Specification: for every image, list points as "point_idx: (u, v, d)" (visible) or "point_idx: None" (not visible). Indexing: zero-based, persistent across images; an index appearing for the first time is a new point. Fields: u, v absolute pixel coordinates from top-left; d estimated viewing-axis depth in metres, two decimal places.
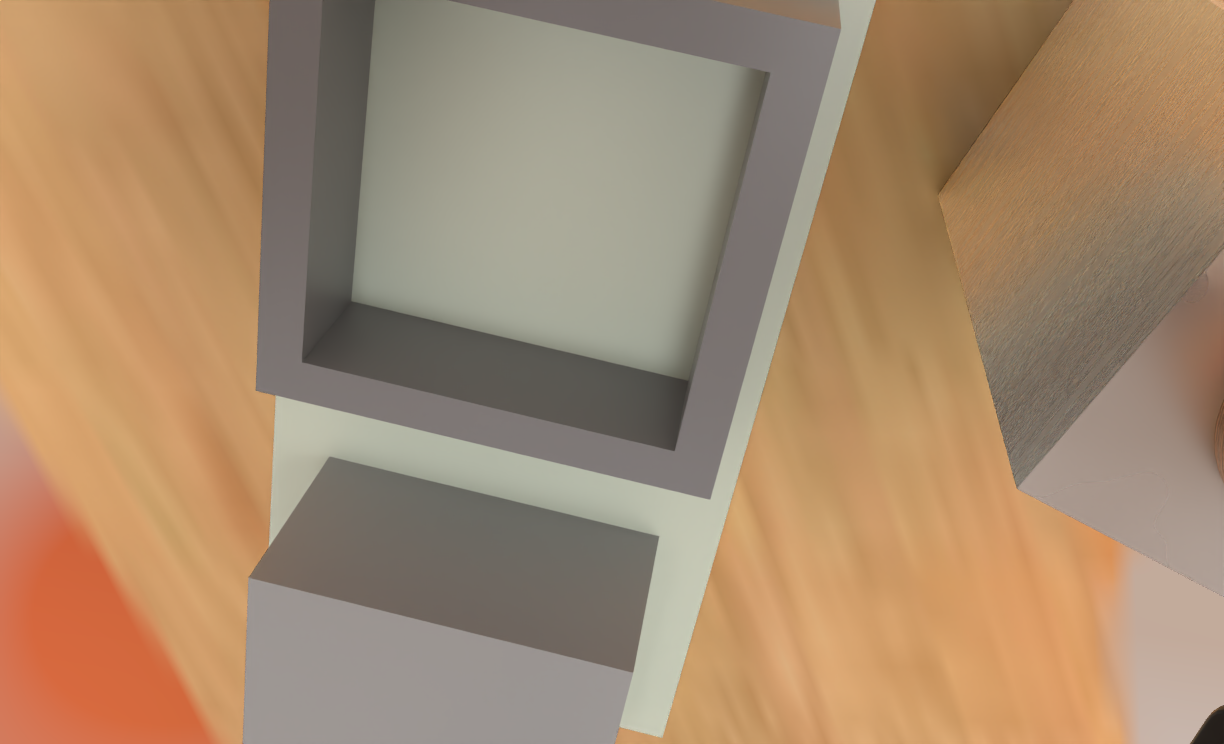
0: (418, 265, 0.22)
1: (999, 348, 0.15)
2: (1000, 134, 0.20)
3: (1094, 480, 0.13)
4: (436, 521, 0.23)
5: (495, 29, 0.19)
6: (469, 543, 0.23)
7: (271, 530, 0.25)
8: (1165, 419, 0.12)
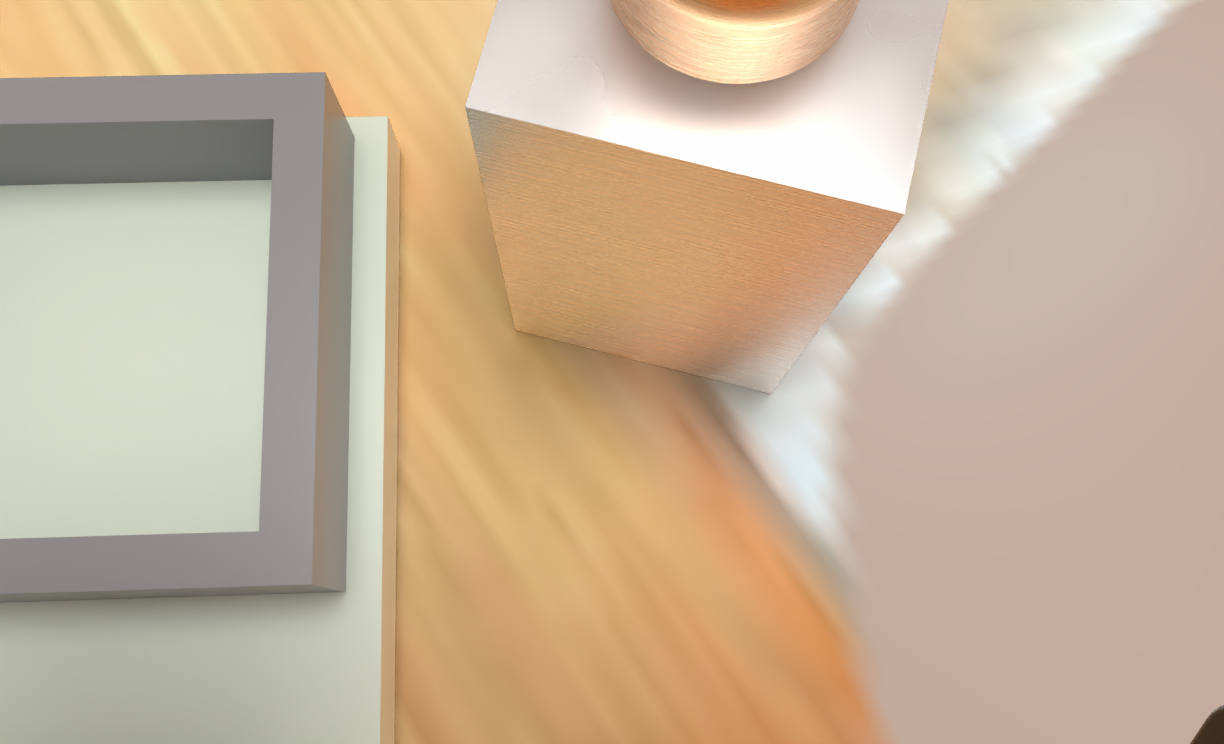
0: None
1: None
2: None
3: (531, 78, 0.13)
4: None
5: (53, 232, 0.21)
6: None
7: None
8: (565, 4, 0.13)
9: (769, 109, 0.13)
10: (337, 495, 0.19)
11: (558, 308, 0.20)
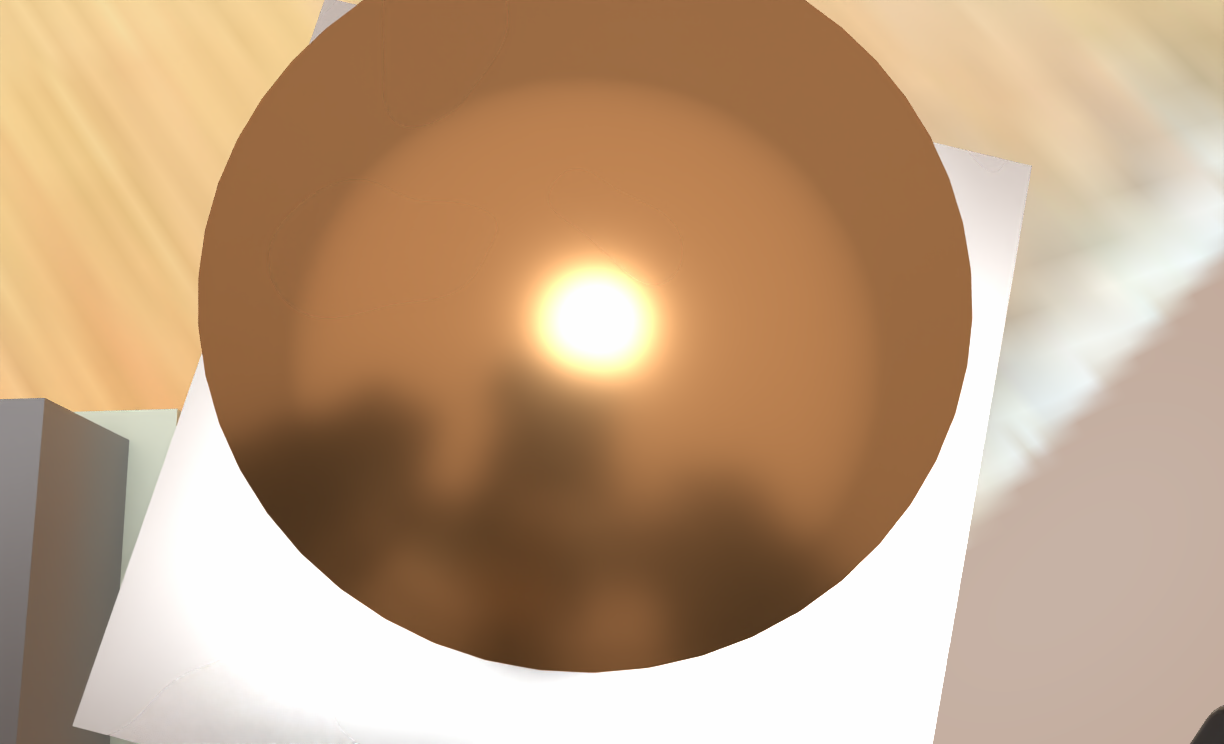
0: None
1: None
2: None
3: (202, 664, 0.07)
4: None
5: None
6: None
7: None
8: None
9: (645, 723, 0.07)
10: None
11: None
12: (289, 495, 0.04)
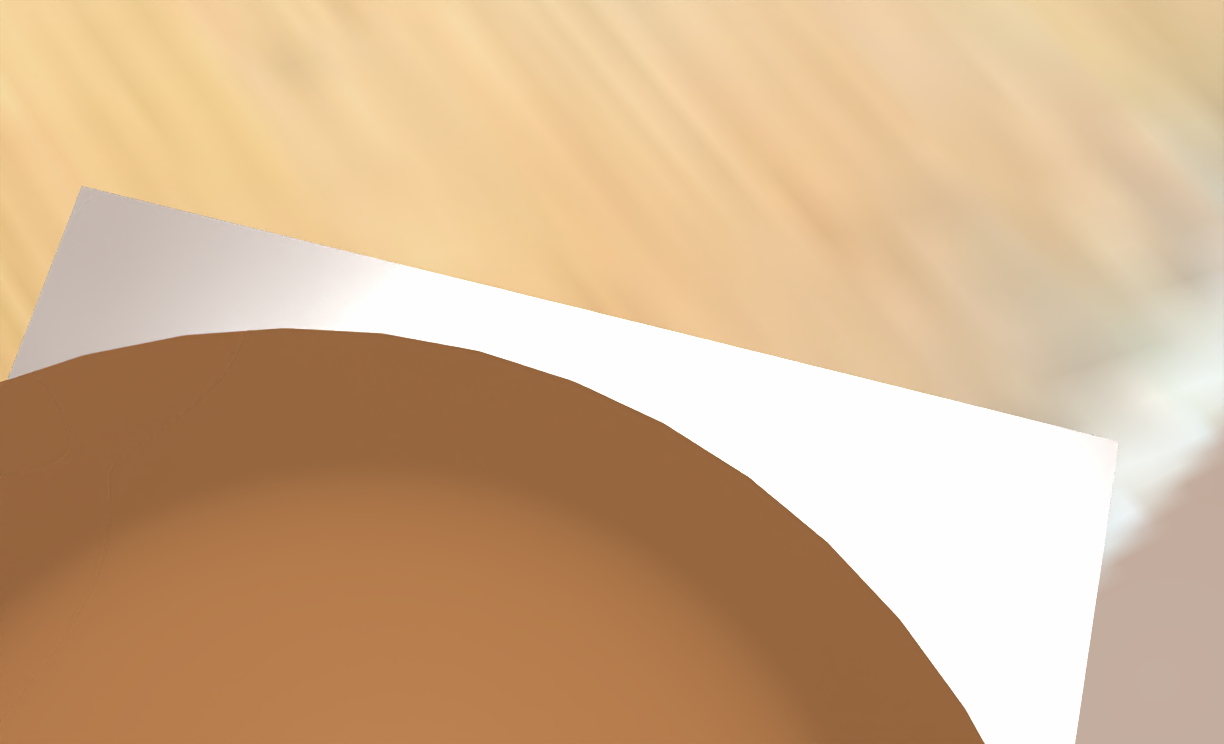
0: None
1: None
2: None
3: None
4: None
5: None
6: None
7: None
8: None
9: None
10: None
11: None
12: None
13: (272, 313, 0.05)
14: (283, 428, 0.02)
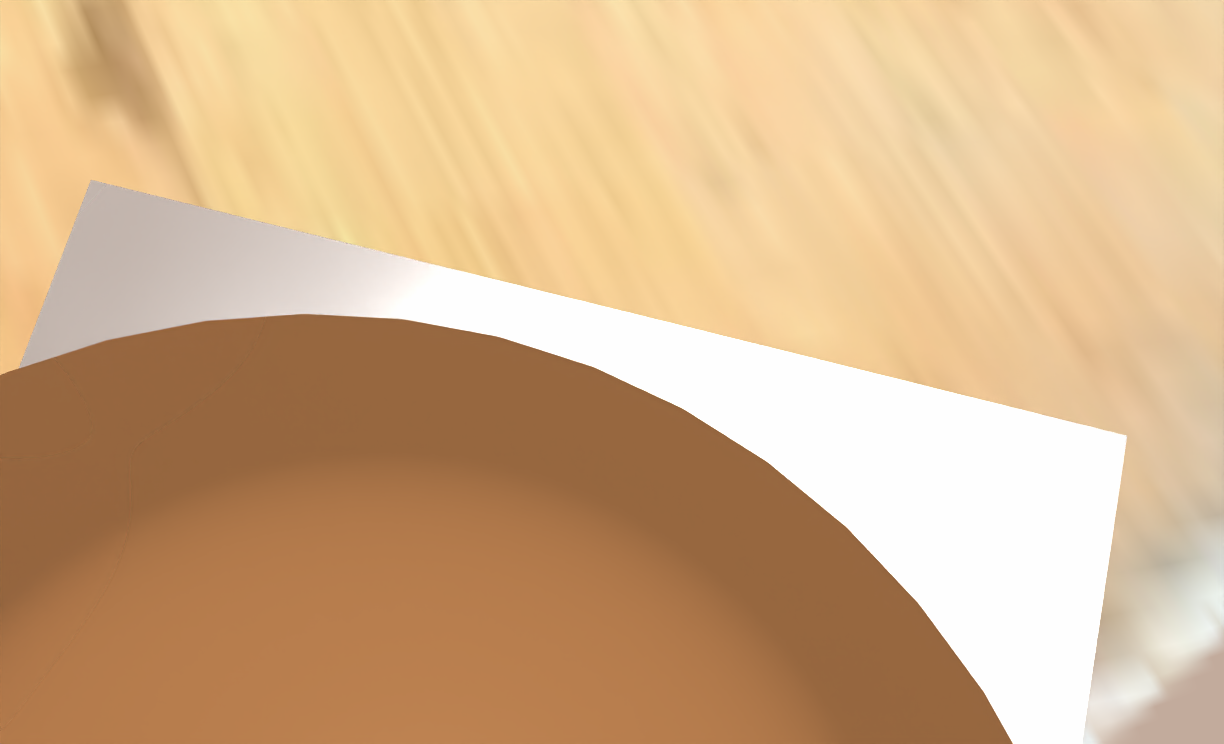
0: None
1: None
2: None
3: None
4: None
5: None
6: None
7: None
8: None
9: None
10: None
11: None
12: None
13: (281, 307, 0.05)
14: (298, 418, 0.02)
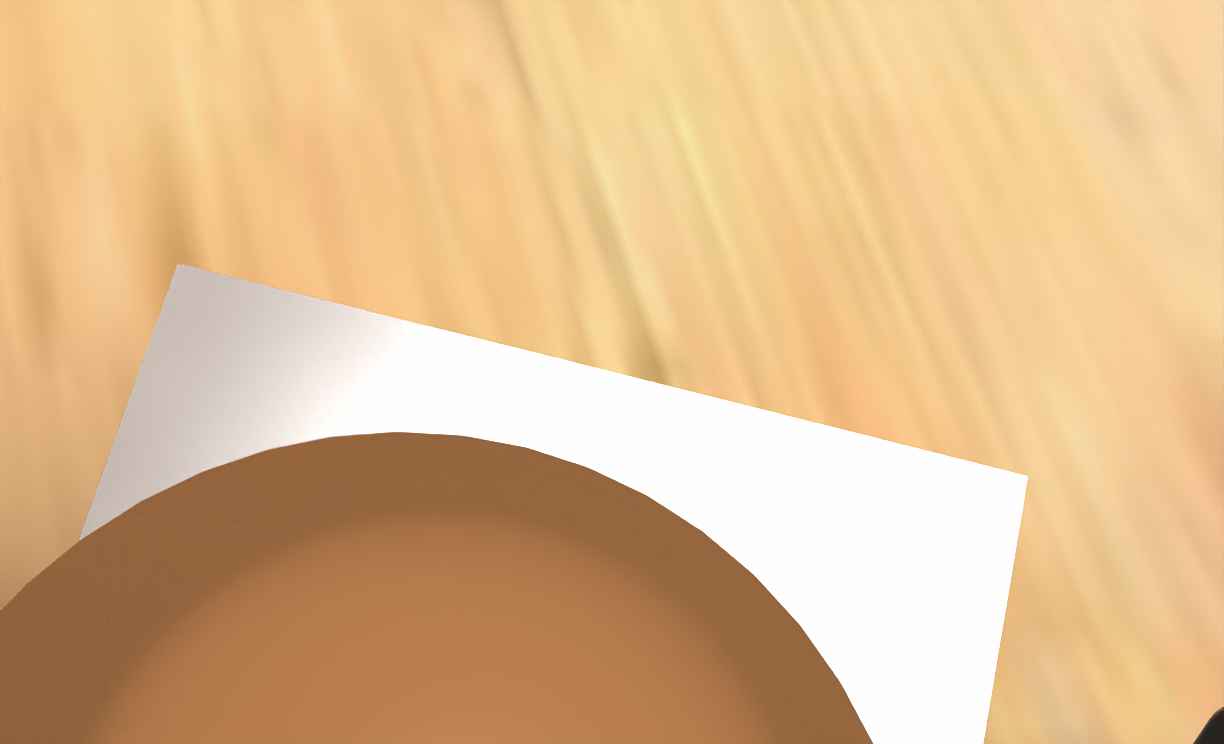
0: None
1: None
2: None
3: None
4: None
5: None
6: None
7: None
8: None
9: None
10: None
11: None
12: None
13: (335, 370, 0.07)
14: (396, 503, 0.03)
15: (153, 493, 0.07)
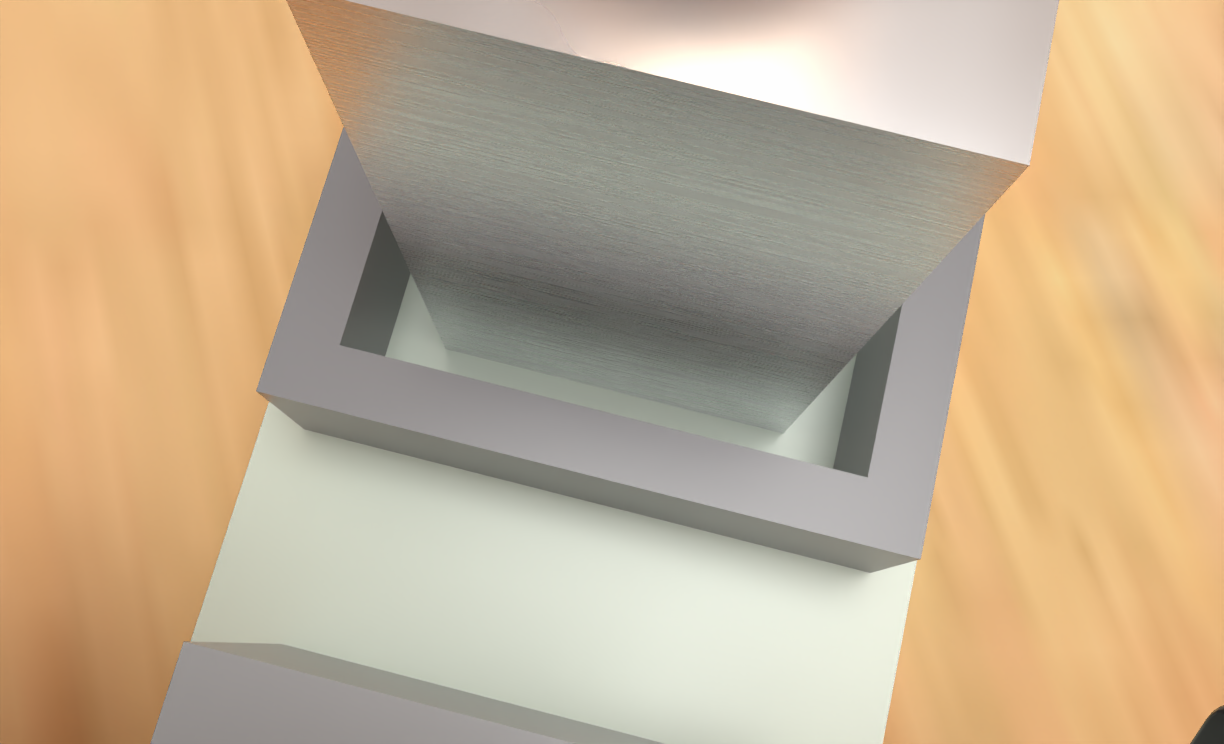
0: None
1: None
2: None
3: None
4: (460, 696, 0.15)
5: None
6: (519, 713, 0.14)
7: None
8: None
9: None
10: None
11: (493, 321, 0.15)
12: None
13: None
14: None
15: None
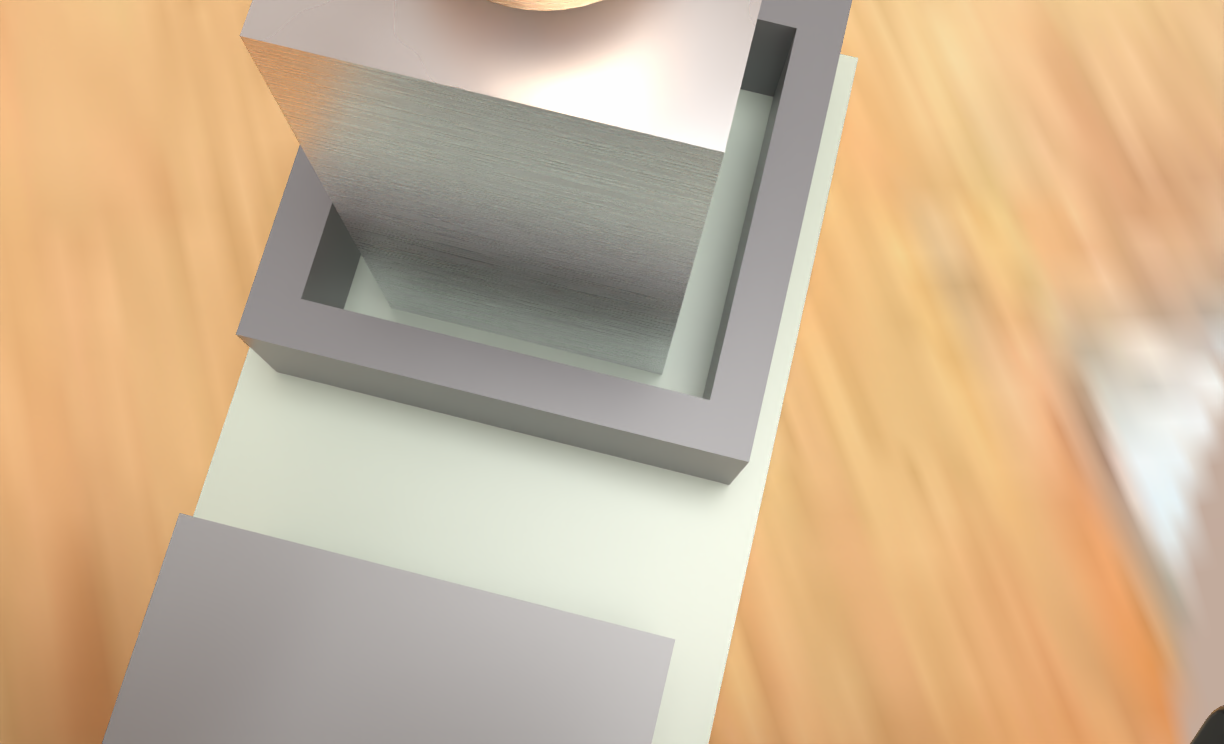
0: None
1: None
2: None
3: (315, 5, 0.12)
4: None
5: None
6: None
7: None
8: None
9: (578, 39, 0.12)
10: None
11: (423, 280, 0.19)
12: None
13: None
14: None
15: None
